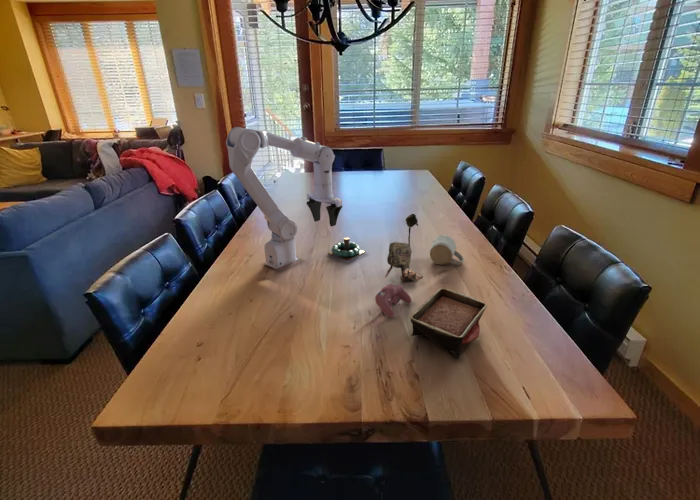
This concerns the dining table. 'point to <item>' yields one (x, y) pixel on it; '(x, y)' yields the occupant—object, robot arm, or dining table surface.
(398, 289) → the video game controller
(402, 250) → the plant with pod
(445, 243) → the ceramic mug
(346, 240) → the brown peg stand
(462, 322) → the baking dish
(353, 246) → the ring
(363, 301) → the dining table surface
